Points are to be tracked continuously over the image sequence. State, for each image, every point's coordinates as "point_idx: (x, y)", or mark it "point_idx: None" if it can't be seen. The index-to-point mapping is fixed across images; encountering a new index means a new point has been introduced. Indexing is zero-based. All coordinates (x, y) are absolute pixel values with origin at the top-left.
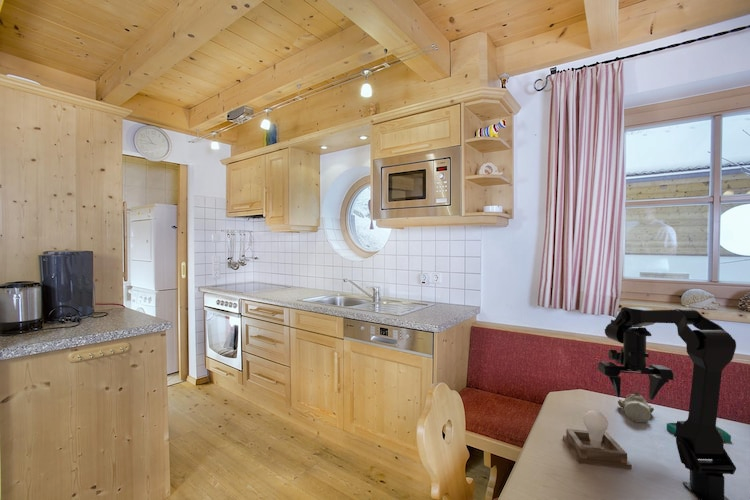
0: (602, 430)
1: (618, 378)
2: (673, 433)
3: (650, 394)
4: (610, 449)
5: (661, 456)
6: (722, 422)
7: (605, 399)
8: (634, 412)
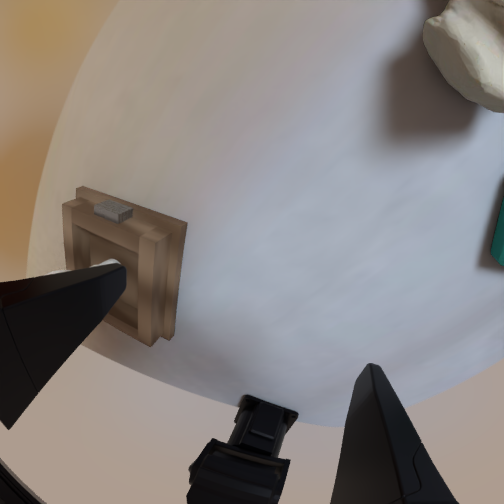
0: None
1: (3, 414)
2: (502, 205)
3: (359, 405)
4: (121, 321)
5: (303, 318)
6: None
7: None
8: (445, 75)
